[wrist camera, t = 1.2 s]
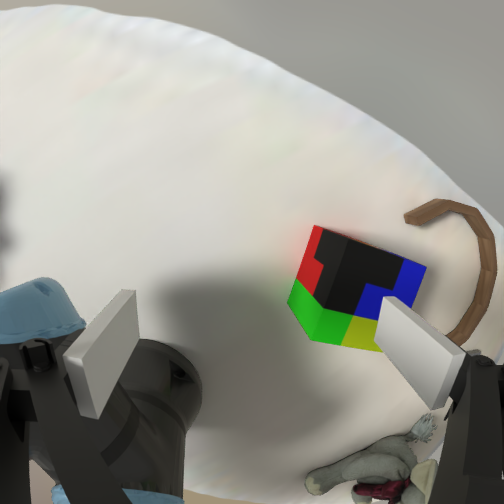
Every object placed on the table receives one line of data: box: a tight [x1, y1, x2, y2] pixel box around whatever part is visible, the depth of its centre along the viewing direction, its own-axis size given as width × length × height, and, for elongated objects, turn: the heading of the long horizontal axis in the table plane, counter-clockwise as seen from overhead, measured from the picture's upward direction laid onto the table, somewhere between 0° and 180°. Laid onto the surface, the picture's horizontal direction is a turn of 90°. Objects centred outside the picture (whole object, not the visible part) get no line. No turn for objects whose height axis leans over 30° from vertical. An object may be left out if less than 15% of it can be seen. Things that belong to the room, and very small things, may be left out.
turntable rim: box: [404, 199, 497, 346], centre depth 38 cm, size 24×21×3 cm
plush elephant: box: [305, 414, 438, 504], centre depth 37 cm, size 27×22×21 cm
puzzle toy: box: [287, 225, 427, 353], centre depth 33 cm, size 10×10×10 cm
